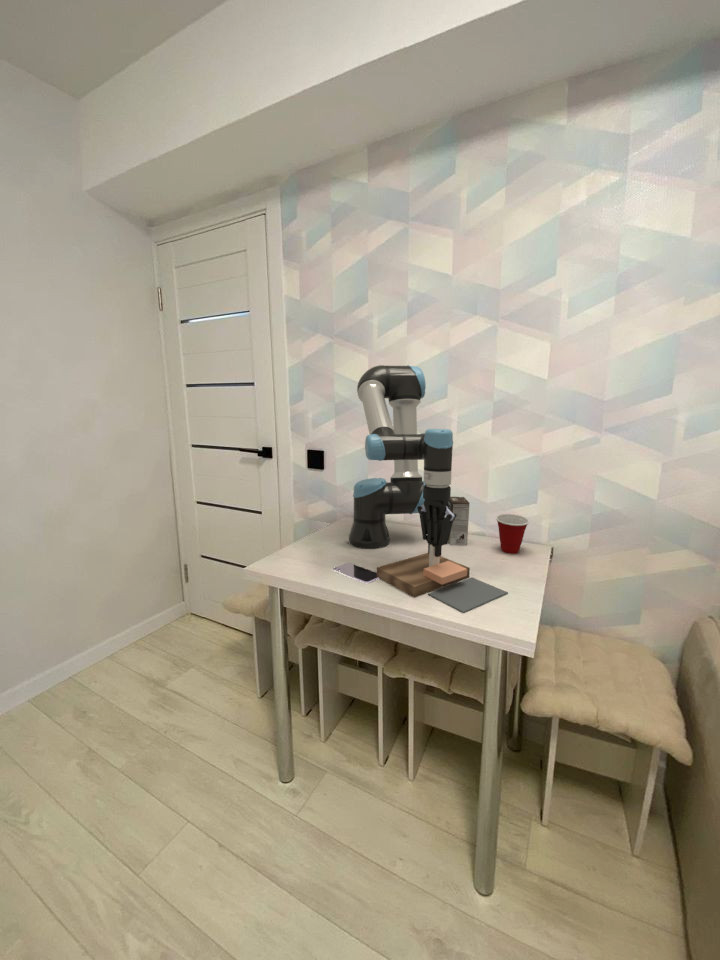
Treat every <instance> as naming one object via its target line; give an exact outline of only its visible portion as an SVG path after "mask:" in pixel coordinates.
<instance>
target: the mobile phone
mask: <svg viewBox="0 0 720 960" xmlns="http://www.w3.org/2000/svg"><path fill="white" fill-rule="evenodd" d="M332 569H333V570H336V571H338V572H341V573H343V574H345V575H347V576H350V577H352V578H355V579H357V580H359V581H358V582H360V581H362V582H364V583H363V584H365V583H369V584H371V583H373V582H375V581H377V580H379V579H378V578H379V577H378V576H377V571H373V570H371V569H368V568H365V567H362V566H359V565H356V564H353V563H350V562H344V563H342V564H339V565H337V566H335V568H334V567H333V568H332ZM347 576H346V577H347ZM352 578H351V579H352ZM376 579H377V580H376ZM357 580H356V581H357ZM374 580H375V581H374ZM372 581H373V582H372ZM362 582H361V583H362ZM370 582H371V583H370Z"/></svg>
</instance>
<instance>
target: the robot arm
mask: <svg viewBox="0 0 720 960" xmlns="http://www.w3.org/2000/svg"><path fill="white" fill-rule="evenodd" d="M426 389H427V388H426V378H425V374H424V372H423V370H422V369H421V367H419V366H415V365H384V364H383V365H381V364H379V365H375V366H373V367H371V368H369V369H368V370H366V371H365V372H364V373H363V374H362V376H361V377H360V378H359V380H358V383H357V387H356V391H357V396H358V399H359V401H361V403H362V406H363V410H364V414H365V415H364V416H365V418H366V419H365V420H366V424H367V428H368V433H369V434H367V436H366V437H365V442H364V450H365V458H367V460H369V461H381V462H382V461H393V462H394V463H393V464H394V467H393V469H394V472H393V474H392V475H391V476H390V479H389V480H390V482H387V480H386V479H385V478H382V477H378V478H377V477H373V478H365V479H362V480H359V481H357V482H356V483H355V484H354V486H353V495H352V497H353V523H352V526H351V529H350V533H349V535H348V543H349V545H350V546H352V547H355V548H358V549H365V550H366V549H368V550H369V549H370V550H374V549H382V548H385V547H387V546H388V545H390V543H391V539H390V538H391V537H390V536H391V535H390V532H389V530H388V526H387V523H386V515H405V514H406V515H407V514H409V515H414V514H419V519H420V520H419V521H420V526H421V534H422V540H424V541H426V542H427V543H426V544H427V553H428V554H429V567H430V566H434V565H437V564H439V562H440V556H441V557H442V549H443V548H442V546H446V545H448V543H449V541H448V540H449V536H450V532H451V528H452V524H453V521H454V519H455V518H456V514H455V513H452V512H451V511H450V510H449V509H450V507H449V504H448V502H449V500H450V497H451V494H452V493H451V491H452V487H451V486H450V485H452V468H453V467H452V464H453V447H454V437H453V436H454V435H453V434H454V433H453V431H452V430H451V429H450V428H449V429H448V428H447V429H446V428H428V429H426V430H425V431H424V433H423V432H422V433H418V425H417V423H418V422H417V421H418V419H417V416H418V415H417V407H418V406H419V405H420V404H421V400H422V399H423V398H425V395H426ZM386 399H388V405H389V406H390V407H392V414H393V415H392V419H391V416H390V415H391V414H390V412H389V409H388V405H387V402H386ZM392 421H393V422H392ZM419 460H420V461H421V460H423V475H421V474H420V473H419V469H418V468H419Z"/></svg>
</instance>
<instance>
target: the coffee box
mask: <svg viewBox="0 0 720 960" xmlns="http://www.w3.org/2000/svg"><path fill="white" fill-rule="evenodd" d="M448 504H449V507H450V509H449V510H450V511H451V512H452V513H455V514H456V518H455V519H454V521H453V524H452V528H451V532H450V536H449V540H448V543H449V545H450V546H468V536H469V519H470V515H469V514H470V502H469V501H468V499H466V497H464V496H450V500H449V502H448Z"/></svg>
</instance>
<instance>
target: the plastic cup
mask: <svg viewBox="0 0 720 960" xmlns="http://www.w3.org/2000/svg"><path fill="white" fill-rule="evenodd" d="M495 520H496V521H497V526H498V535H499V544H500V551H501V550H502V551H501V552H502V553H506V554H508V553H510V554H511V555H516V554H518V553H519V552H520V550H521V546H522V543H523V539H524V535H525V533H526V529H527V527H528V525H529V523H530V519H529V518H527V517H525V516H522V515H519V514H515V513H514V514H511V513H502V514H501V513H500V514H499V515H496V516H495Z"/></svg>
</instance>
